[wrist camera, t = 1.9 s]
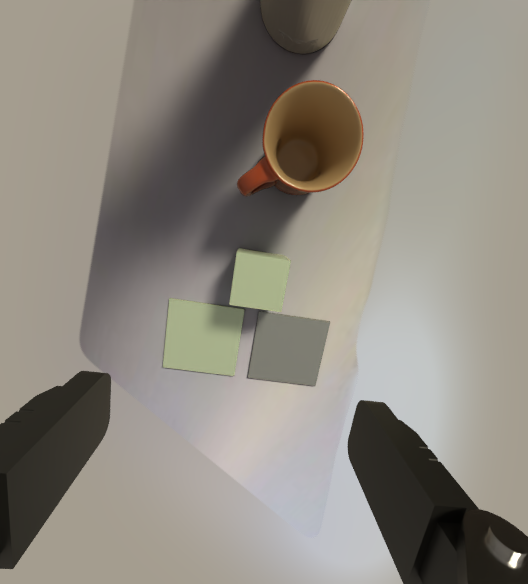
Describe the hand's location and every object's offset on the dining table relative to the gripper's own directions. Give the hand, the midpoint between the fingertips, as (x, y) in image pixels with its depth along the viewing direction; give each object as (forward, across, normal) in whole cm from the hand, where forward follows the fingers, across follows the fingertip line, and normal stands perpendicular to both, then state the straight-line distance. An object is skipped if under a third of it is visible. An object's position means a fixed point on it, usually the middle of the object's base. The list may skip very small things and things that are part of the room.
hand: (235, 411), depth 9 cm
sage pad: (+28, +4, +10) cm, 30 cm away
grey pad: (+28, -8, +10) cm, 31 cm away
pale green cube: (+28, -2, 0) cm, 28 cm away
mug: (+28, -3, -13) cm, 31 cm away
